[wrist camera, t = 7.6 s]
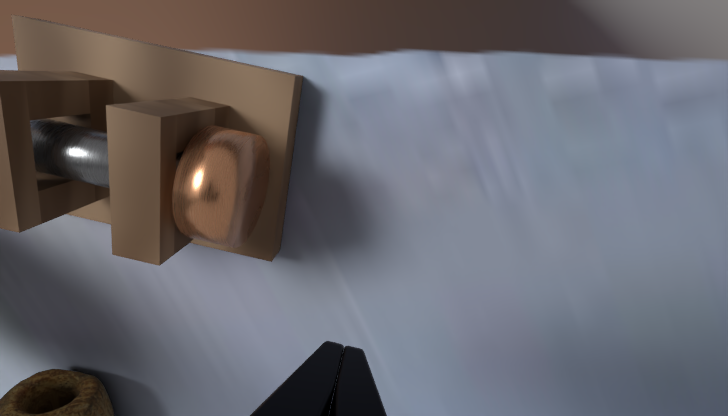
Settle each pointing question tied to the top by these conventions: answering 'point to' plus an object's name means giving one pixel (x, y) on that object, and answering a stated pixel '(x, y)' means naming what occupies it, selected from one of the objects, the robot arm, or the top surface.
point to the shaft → (192, 180)
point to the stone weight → (57, 396)
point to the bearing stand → (135, 132)
